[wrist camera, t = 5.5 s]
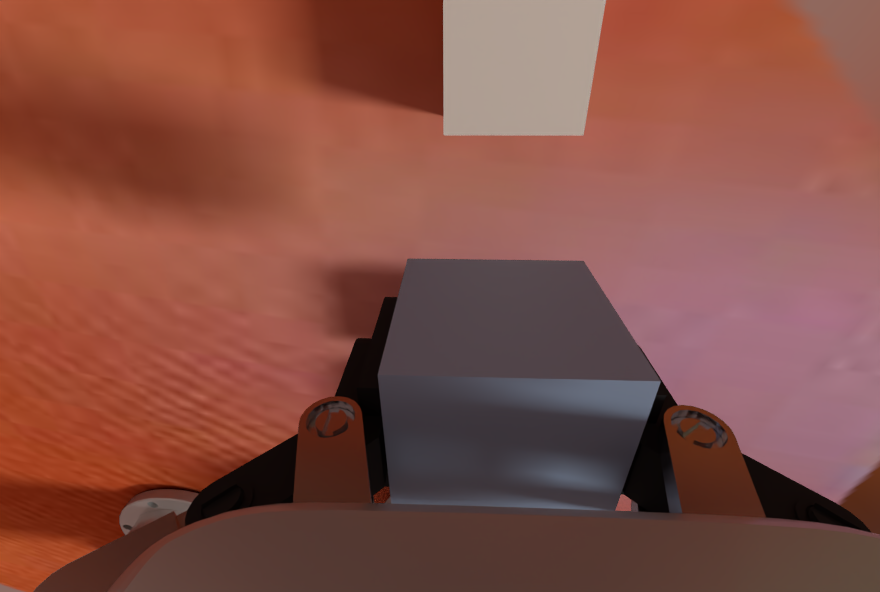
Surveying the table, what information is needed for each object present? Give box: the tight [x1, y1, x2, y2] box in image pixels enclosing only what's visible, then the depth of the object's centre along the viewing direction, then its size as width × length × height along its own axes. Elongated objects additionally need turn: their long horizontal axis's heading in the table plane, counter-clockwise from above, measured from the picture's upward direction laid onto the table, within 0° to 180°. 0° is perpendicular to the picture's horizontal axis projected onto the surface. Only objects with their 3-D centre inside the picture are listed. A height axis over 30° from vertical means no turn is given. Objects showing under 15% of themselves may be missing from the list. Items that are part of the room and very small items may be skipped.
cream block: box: [443, 0, 606, 135], centre depth 15 cm, size 5×5×5 cm
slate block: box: [378, 259, 661, 511], centre depth 11 cm, size 5×5×5 cm
